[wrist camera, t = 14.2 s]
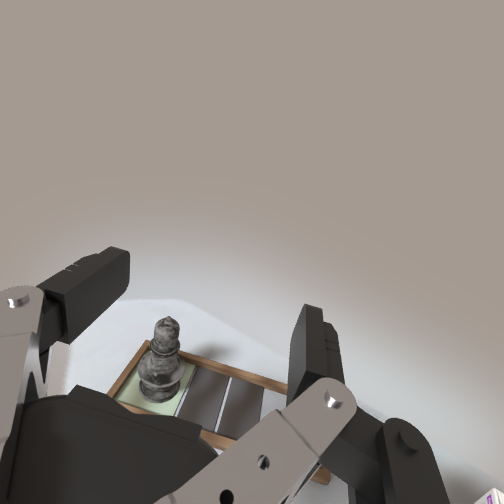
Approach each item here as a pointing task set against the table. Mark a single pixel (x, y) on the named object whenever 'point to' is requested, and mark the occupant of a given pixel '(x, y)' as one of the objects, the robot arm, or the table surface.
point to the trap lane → (206, 399)
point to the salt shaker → (162, 364)
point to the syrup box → (492, 497)
